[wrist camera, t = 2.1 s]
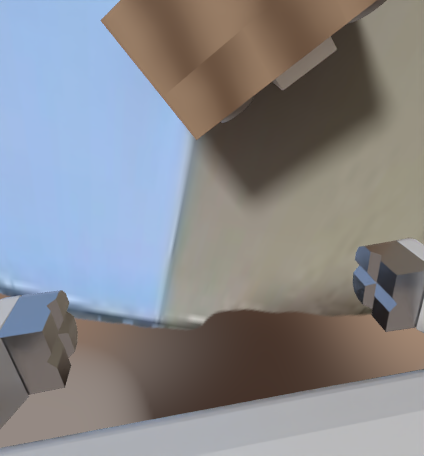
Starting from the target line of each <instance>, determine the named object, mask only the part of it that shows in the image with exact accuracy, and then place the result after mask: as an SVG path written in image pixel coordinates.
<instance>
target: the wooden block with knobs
mask: <svg viewBox="0 0 424 456" xmlns="http://www.w3.org/2000/svg"><path fill="white" fill-rule="evenodd" d="M385 1H386V0H120V1H119V2H118V3H117V4H116V5H115V6H114V7H113V8H112V9H111V10H110V11H109V12H108V14H107V15H106V16H105V17H104V18H103V19H102V20H101V22H102V23H103V24H104V25H105V27H106V28H107V29H108V30H109V32H110V33H111V34H112V35H113V37H114V38H115V39H116V40H117V42H118V43H119V44H120V45H121V47H122V48H123V49H124V50H125V52H126V53H127V54H128V55H129V57H130V58H131V59H132V60H133V62H134V63H135V64H136V65H137V67H138V68H139V69H140V70H141V72H142V73H143V74H144V75H145V76H146V78H147V79H148V80H149V81H150V83H151V84H152V85H153V86H154V88H155V89H156V90H157V91H158V93H159V94H160V95H161V96H162V98H163V99H164V100H165V101H166V103H167V104H168V105H169V106H170V108H171V109H172V110H173V111H174V113H175V114H176V115H177V116H178V118H179V119H180V120H181V121H182V123H183V124H184V125H185V126H186V128H187V129H188V130H189V131H190V133H191V134H192V135H193V136H194V137H195V139H196V140H197V139H199V138H200V137H201V136H202V135H204V134H205V133H206V132H208V131H209V130H210V129H211V128H213V127H214V126H215V125H217V124H218V123H219V122H220V121H221V122H222V123H224V122H227V121H229V120H231V119H233V118H234V117H236V116H237V115H238V114H240V113H241V112H242V111H243V110H244V109H246V108H247V107H248V105H249V104H250V103H251V102H252V100H253V96H254V95H255V94H257V93H258V92H259V91H260V90H262V89H263V88H264V87H266V86H267V85H268V84H270V83H271V82H272V81H273V80H275V79H276V78H277V77H279V76H280V75H281V74H282V73H284V72H285V71H286V70H288V69H289V68H290V67H291V66H293V65H294V64H295V63H297V62H298V61H299V60H300V59H302V58H303V57H304V56H306V55H307V54H308V53H310V52H311V51H312V50H313V49H315V48H316V47H317V46H319V45H320V44H321V43H322V42H324V41H325V40H326V39H328V38H329V37H330V36H331V35H333V34H334V33H335V32H337V31H338V30H339V29H341V28H342V27H343V26H344V25H346V24H347V23H352V22H355V21H357V20H359V19H361V18H363V17H364V16H366V15H368V14H369V13H371V12H372V11H374V10H375V9H377V8H378V7H379V6H380V5H382V4H383V3H384V2H385Z"/></svg>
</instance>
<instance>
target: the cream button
mask: <svg viewBox="0 0 424 456" xmlns="http://www.w3.org/2000/svg"><path fill="white" fill-rule="evenodd" d="M336 50H337V48H336V46H335V44H334V42H333V40H332V38H331V36H330V37H329V38H328V39H326V40H325V41H324V42H322V43H321V44H320V45H319V46H317V47H316V48H315V49H313V50H312V51H311V52H310V53H308V54H307V55H306V56H304V57H303V58H302V59H300V60H299V61H298V62H297V63H295V64H294V65H293V66H291V67H290V68H289V69H288V70H286V71H285V72H284V73H282V74H281V75H280V76H279V77H277V78H276V79H275V80H273V81H272V82H273V83H274V84H275V85H277V86H278V87H279V88H280V89H281V90H282V91H283V90H284V89H286V88H287V87H288V86H290V85H291V84H292V83H294V82H295V81H296V80H298V79H299V78H300V77H302V76H303V75H304V74H306V73H307V72H308V71H310V70H311V69H312V68H314V67H315V66H316V65H318V64H319V63H320V62H321V61H323V60H324V59H325V58H327V57H328V56H329V55H331V54H332V53H333V52H335V51H336Z"/></svg>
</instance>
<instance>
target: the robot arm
mask: <svg viewBox="0 0 424 456" xmlns="http://www.w3.org/2000/svg"><path fill="white" fill-rule="evenodd" d="M355 260H356V262H357V263H358V264H359V267H358V268H357V269H356V270H355V271H354V273H353V287H354V292H355V294H356V296H357V298H358V299H359V301H360V302H361V303H362V304H363V305H365V306H367V307H369V308H372V316H373V317H374V319H375V320H376V321H377V322H378V323H379V324H380V325H381V327H382V328H383V329H384V330H385V332H388V331H394V330H401V329H408V328H415V327H416V329H417V330H419V331H421V332H423V333H424V245H423V244H421V243H420V242H419V241H417V240H416V239H412V238H406V239H400V240H395V241H391V242H385V243H379V244H373V245H367V246H361V247H359V248H358V250H357V252H356V257H355ZM68 305H69V301H68V298H67V296H66V293H65V292H63V291H62V290H60V291H52V292H45V293H37V294H29V295H23V296H14V297H8V298H3V299H0V429H1V428H2V427H3V425H4V424H5V423H6V422H7V421H8V420H9V419H10V418H11V416H12V415H13V414H14V413H15V412H16V411H17V410H18V408H19V407H20V406H21V405H22V404H23V403H24V402H25V400H26V399H27V398H28V397H29V396H28V395H30V394H35V393H40V392H45V391H50V390H55V389H59V388H65V385H66V382H67V378H68V374H69V371H70V368H71V364H70V361H69V359H68V358H69V357H70V356H71V355H72V354H73V353H74V352H75V349H76V345H77V326H76V322H75V319H74V316H73V315H71V314H70V313H68V312H67V308H68ZM0 456H424V369H422V370H416V371H411V372H405V373H400V374H395V375H389V376H384V377H378V378H373V379H367V380H362V381H357V382H351V383H345V384H340V385H335V386H329V387H325V388H318V389H313V390H308V391H302V392H297V393H292V394H287V395H281V396H276V397H271V398H265V399H260V400H255V401H249V402H244V403H238V404H233V405H228V406H222V407H217V408H212V409H206V410H201V411H196V412H190V413H185V414H180V415H174V416H169V417H163V418H158V419H153V420H148V421H142V422H137V423H132V424H126V425H121V426H116V427H110V428H105V429H99V430H94V431H89V432H84V433H78V434H73V435H67V436H62V437H57V438H51V439H46V440H40V441H35V442H30V443H24V444H19V445H13V446H9V447H3V448H0Z"/></svg>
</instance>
